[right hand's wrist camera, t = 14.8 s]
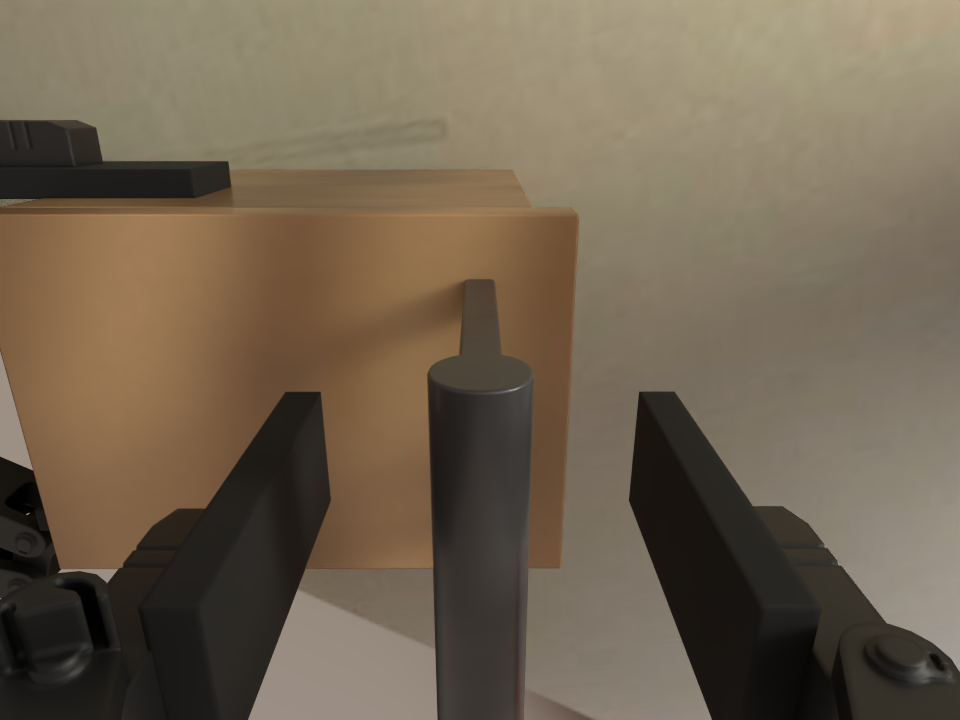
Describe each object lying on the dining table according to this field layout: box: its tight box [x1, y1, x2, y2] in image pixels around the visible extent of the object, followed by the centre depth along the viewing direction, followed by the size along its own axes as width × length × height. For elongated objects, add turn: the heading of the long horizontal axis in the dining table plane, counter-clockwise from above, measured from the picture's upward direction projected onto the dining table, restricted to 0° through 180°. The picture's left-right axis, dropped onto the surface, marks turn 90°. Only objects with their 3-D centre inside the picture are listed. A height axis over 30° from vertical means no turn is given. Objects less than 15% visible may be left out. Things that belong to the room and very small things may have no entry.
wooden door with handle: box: [0, 207, 579, 720], centre depth 14 cm, size 14×10×8 cm
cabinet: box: [1, 170, 532, 208], centre depth 22 cm, size 13×10×10 cm
